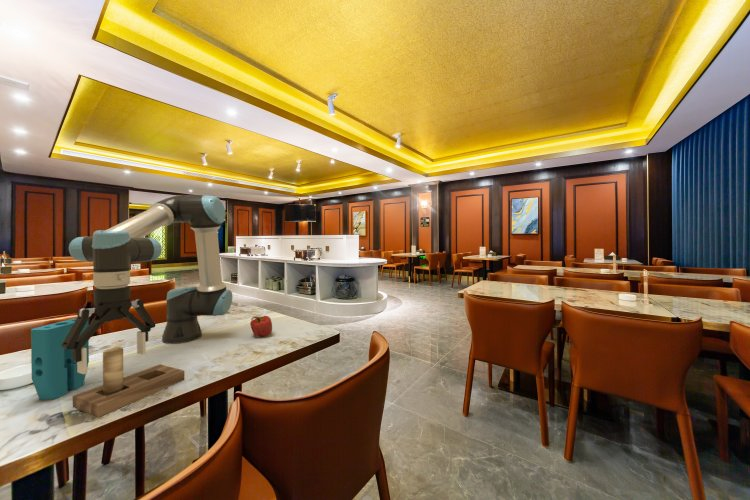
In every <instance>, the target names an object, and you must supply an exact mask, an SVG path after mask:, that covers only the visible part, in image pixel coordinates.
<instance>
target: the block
mask: <svg viewBox="0 0 750 500" xmlns="http://www.w3.org/2000/svg"><path fill="white" fill-rule="evenodd" d="M76 319H77V318H70V319H65V320H62V321H57V322H54V323H50V324H46V325H42V326H38V327H34V328H31V329H30V341H31V342H30V345H31V346H30V347H31V348H30V349H31V350H30V351H31V352H30V353H31V354H30V356H31V358H30V359H31V361H30V362H31V381H32V384H33V386H34V389H35V391H36V394H37V397H38V399H39V400H43V401H44V400H57V399H59V398H61V397H63V396H65V395H67V394H68V391H70V390H71V391H72V390H73V391H74V390H75V391H76V390H77V389H80V388H81V387H84V383H85V380H86V376H87V375H86V374H87V373H86V374H81V373H78V371H77V362H74V361H73V359H72V358H73V357H72V349H69V350H68V349H65V348H62V347H61V345H62V344H63V342H64V340H65V338H66V337H67V335H68V333H69V331H70V329H71V328H72V326H73V324H74V322H75V321H76ZM88 326H89V319H88V320H87V322H86V324H85V326H84V328H83V330H82V331H81V333H80V335H81V334H82V332H83V331H84V330H85V329H86V328H87V327H88ZM80 335H79V336H80ZM89 341H90V339H89V340H88V341H87V342H86V344H85V345H84V346H83V347H85V348H87V368H89V367H88V366H89V362H90V361H89V360H90V350H89V347H90V346H89V343H90V342H89Z"/></svg>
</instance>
